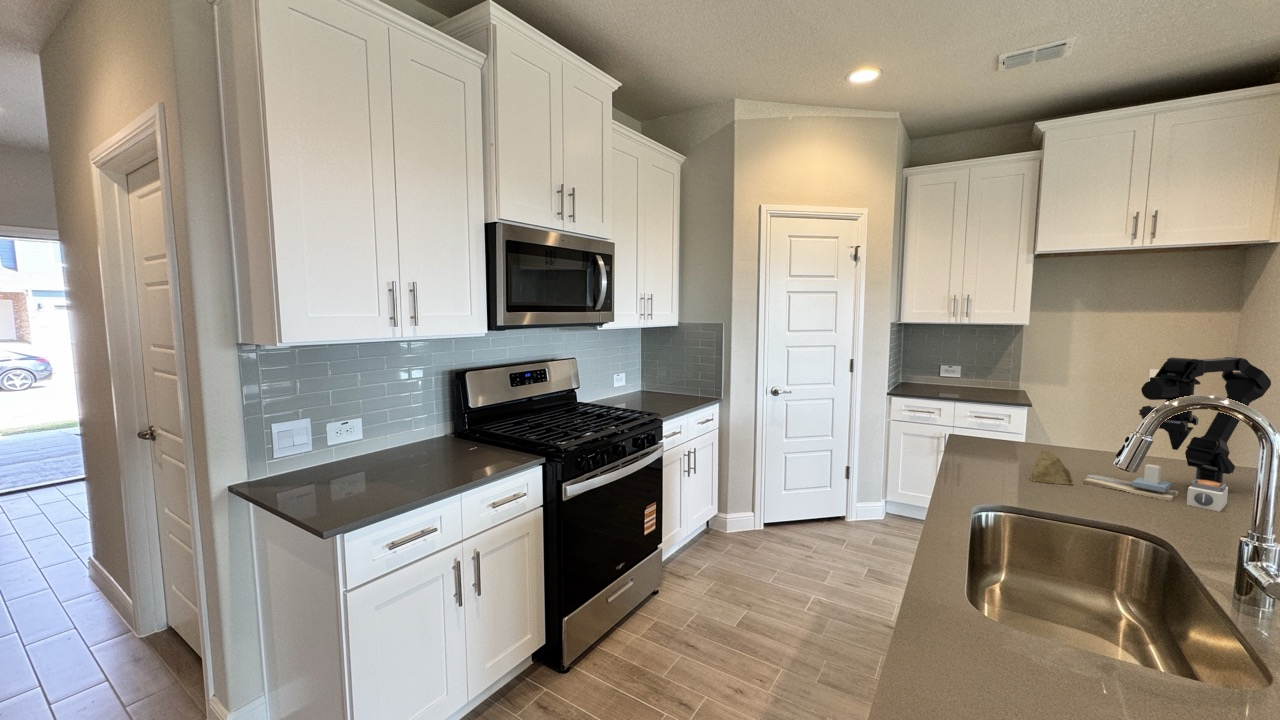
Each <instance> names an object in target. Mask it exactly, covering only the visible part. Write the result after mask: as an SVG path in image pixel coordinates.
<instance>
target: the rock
mask: <svg viewBox="0 0 1280 720" xmlns="http://www.w3.org/2000/svg"><path fill="white" fill-rule="evenodd" d="M1032 469H1033V470H1032V474H1031V478H1030V482H1032V481H1033V482H1036V481H1037V482H1036V483H1041V482H1044V483H1043V484H1051V483H1054V485H1055V484H1056V485H1074V479H1073V477H1072V475H1071V474H1072V473H1071V471H1070V470H1069V469H1068V468H1067V467H1066V466H1065V464H1063V462H1062V461H1061V459H1060V458H1059V457H1058V456H1056V455H1055V454H1053V453H1052V452H1050V451H1049V450H1048V451H1047V450H1041V451H1040V453H1039V455H1038V458H1037V460H1036V463H1035V465H1034V467H1033V468H1032Z"/></svg>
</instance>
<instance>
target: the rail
mask: <svg viewBox="0 0 1280 720" xmlns="http://www.w3.org/2000/svg"><path fill="white" fill-rule="evenodd" d="M1086 477H1087V478H1085V479H1083V481H1082V483H1083V484H1084V483H1085V484H1086V485H1089V484H1091V485H1090V486H1094V485H1096V486H1095V487H1099V486H1101V487H1100V488H1103V487H1107V488H1106V489H1108V488H1113V489H1118V490H1123V491H1126V492H1125V493H1127V492H1130V493H1129V494H1132V493H1135V494H1134V495H1137V494H1139V495H1138V496H1142V495H1143V497H1147V496H1148V497H1147V498H1151V497H1153V498H1152V499H1156V498H1158V500H1161V499H1164V500H1163V501H1166V500H1169V501H1168V502H1172V501H1173V500H1174V499H1175V498H1177V497H1178V496H1179V494H1180V493H1179V491H1178V490H1174V489H1170V488H1169V489H1168V490H1167V491H1165V492H1160V491H1155V490H1150V489H1145V488H1140V487H1135V486H1132V483H1133V481H1128V480H1123V479H1122V480H1121V479H1118V478H1112V477H1107V476H1102V475H1095V474H1088V475H1087V476H1086ZM1113 489H1112V490H1113ZM1118 490H1117V491H1118ZM1123 491H1122V492H1123ZM1173 498H1174V499H1173ZM1172 499H1173V500H1172Z"/></svg>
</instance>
